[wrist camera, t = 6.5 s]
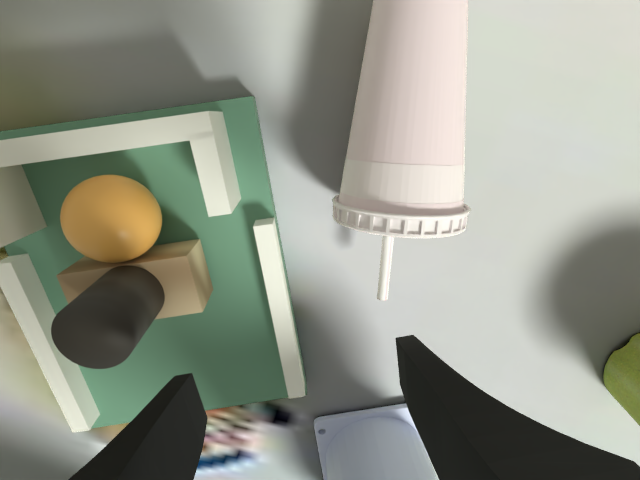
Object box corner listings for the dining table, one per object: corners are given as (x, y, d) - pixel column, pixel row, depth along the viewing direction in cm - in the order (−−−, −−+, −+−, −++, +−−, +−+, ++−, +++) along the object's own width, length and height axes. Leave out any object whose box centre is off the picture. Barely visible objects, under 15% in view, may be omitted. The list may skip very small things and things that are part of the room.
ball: (141, 256, 14) (129, 157, 14) (41, 270, 14) (30, 172, 14) (180, 255, 18) (170, 179, 18) (102, 267, 18) (92, 190, 18)
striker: (213, 289, 19) (181, 357, 14) (104, 305, 19) (30, 380, 14) (200, 238, 18) (160, 290, 13) (85, 255, 18) (-4, 315, 13)
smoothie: (315, -1, 16) (307, 288, 20) (412, -71, 10) (374, 349, 14) (424, 25, 19) (398, 273, 22) (546, -19, 13) (483, 318, 17)
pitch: (306, 381, 24) (308, 434, 20) (99, 413, 24) (60, 473, 20) (254, 97, 18) (243, 92, 14) (-26, 136, 18) (-118, 142, 14)
